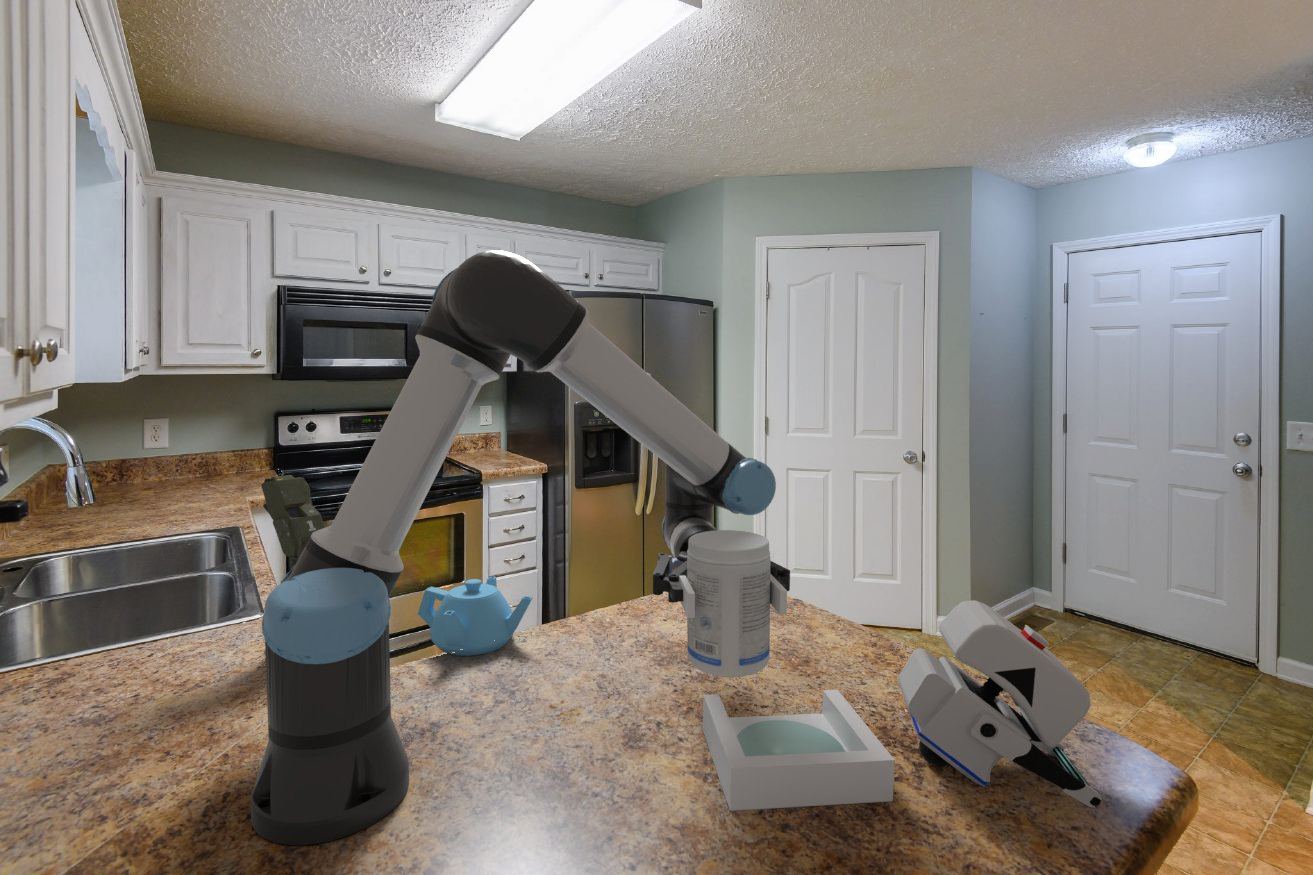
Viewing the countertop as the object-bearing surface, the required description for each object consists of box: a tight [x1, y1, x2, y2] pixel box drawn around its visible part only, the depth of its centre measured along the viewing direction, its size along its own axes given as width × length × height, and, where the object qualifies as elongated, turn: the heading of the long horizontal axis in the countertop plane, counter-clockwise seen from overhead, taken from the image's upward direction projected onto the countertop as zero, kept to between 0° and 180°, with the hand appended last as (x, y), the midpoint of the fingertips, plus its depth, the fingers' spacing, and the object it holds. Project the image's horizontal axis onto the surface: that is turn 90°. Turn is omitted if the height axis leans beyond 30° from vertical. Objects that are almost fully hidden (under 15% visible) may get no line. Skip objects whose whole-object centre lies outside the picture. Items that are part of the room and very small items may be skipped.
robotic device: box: [897, 599, 1103, 808], centre depth 76 cm, size 10×21×20 cm
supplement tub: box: [686, 529, 771, 679], centre depth 75 cm, size 10×10×15 cm
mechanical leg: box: [260, 474, 326, 584], centre depth 106 cm, size 14×7×30 cm, turn 57°
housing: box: [702, 689, 896, 812], centre depth 77 cm, size 18×16×5 cm
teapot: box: [417, 576, 533, 657], centre depth 111 cm, size 15×15×11 cm
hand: (737, 604), depth 70 cm, fingers closed on supplement tub, 9 cm apart
